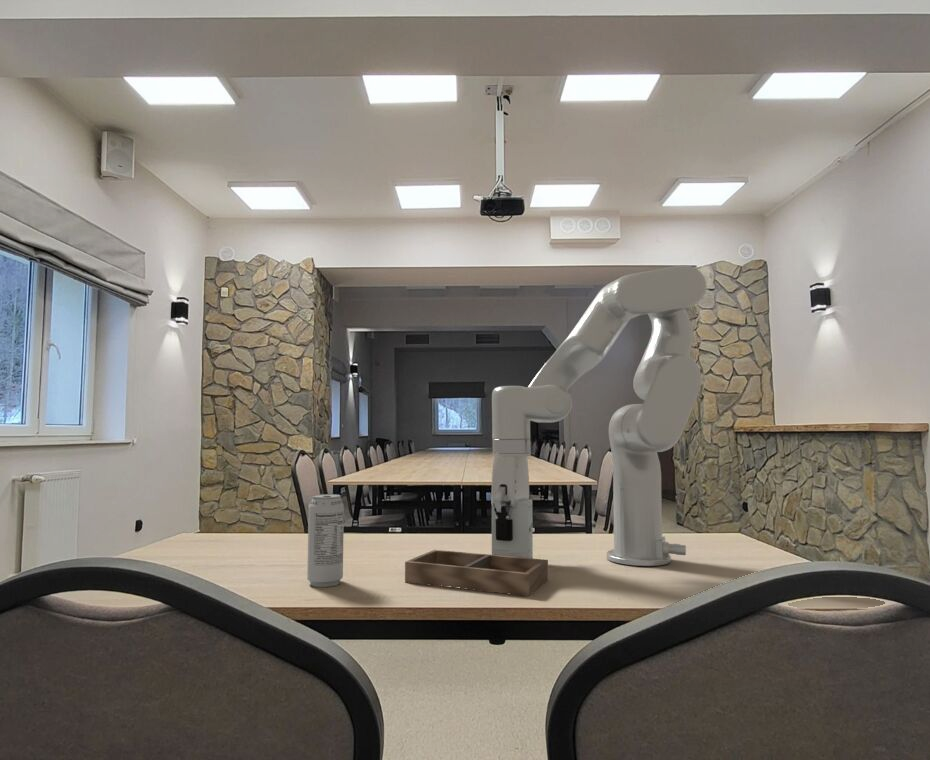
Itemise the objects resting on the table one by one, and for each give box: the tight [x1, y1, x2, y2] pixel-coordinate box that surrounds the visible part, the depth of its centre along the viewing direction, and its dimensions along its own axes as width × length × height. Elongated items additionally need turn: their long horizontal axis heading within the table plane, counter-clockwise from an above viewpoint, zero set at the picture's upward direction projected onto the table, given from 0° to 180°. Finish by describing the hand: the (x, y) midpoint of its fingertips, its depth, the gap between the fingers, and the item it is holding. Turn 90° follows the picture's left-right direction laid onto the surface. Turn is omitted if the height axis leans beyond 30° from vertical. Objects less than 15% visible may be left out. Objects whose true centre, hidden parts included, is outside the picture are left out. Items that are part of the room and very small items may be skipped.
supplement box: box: [491, 498, 534, 559], centre depth 122 cm, size 7×7×13 cm
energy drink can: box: [306, 493, 345, 588], centre depth 108 cm, size 6×6×15 cm
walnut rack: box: [404, 549, 549, 597], centre depth 109 cm, size 22×12×4 cm, turn 66°
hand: (512, 536), depth 122 cm, fingers open, 9 cm apart
